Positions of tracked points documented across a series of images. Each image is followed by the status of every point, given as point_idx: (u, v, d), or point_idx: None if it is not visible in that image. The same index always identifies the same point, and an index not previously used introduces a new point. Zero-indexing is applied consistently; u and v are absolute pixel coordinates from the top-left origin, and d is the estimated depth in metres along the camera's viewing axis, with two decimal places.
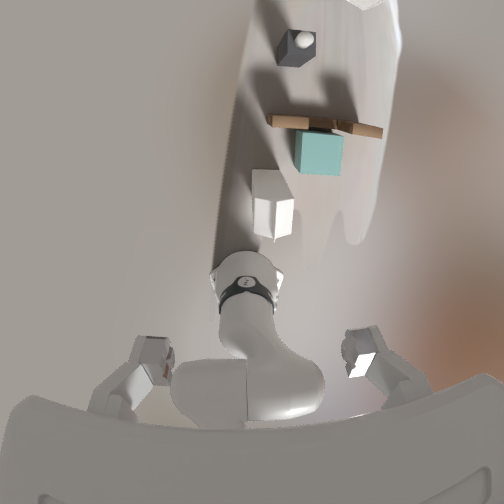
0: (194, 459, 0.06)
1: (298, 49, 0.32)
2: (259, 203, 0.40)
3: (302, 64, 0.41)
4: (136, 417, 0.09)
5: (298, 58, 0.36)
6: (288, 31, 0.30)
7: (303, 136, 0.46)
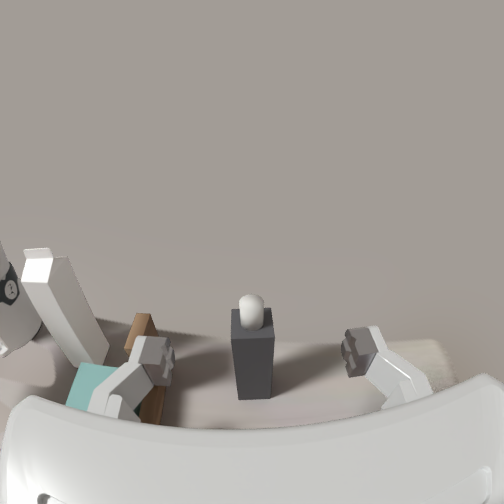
0: (194, 459, 0.06)
1: (239, 320, 0.29)
2: None
3: None
4: (136, 417, 0.09)
5: None
6: None
7: None
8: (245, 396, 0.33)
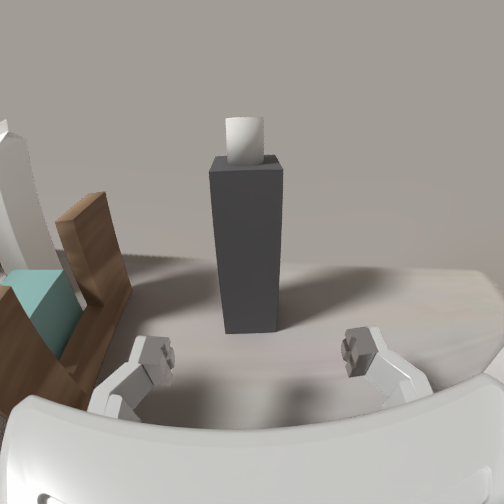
0: (194, 459, 0.06)
1: (225, 161, 0.18)
2: None
3: (221, 296, 0.21)
4: (136, 417, 0.09)
5: None
6: None
7: (56, 271, 0.19)
8: (236, 325, 0.22)
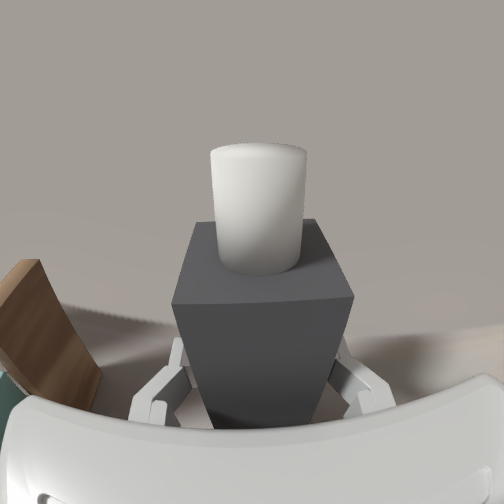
0: (194, 459, 0.06)
1: (215, 245, 0.08)
2: None
3: None
4: (177, 422, 0.09)
5: None
6: None
7: None
8: None
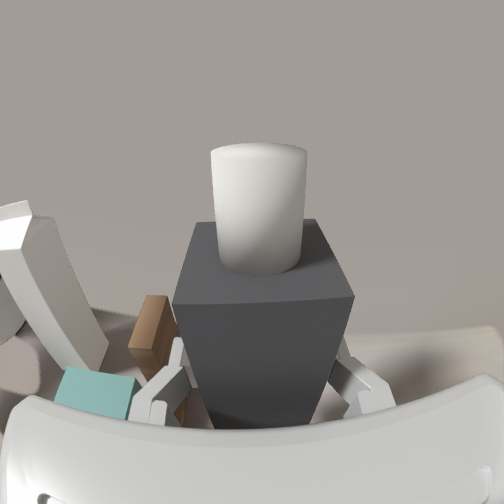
0: (194, 459, 0.06)
1: (215, 245, 0.08)
2: None
3: None
4: (177, 422, 0.09)
5: None
6: None
7: (127, 378, 0.20)
8: None
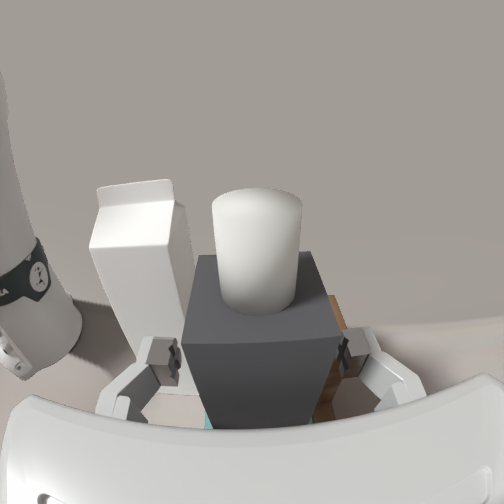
0: (194, 459, 0.06)
1: (217, 282, 0.09)
2: None
3: None
4: (144, 418, 0.09)
5: None
6: None
7: None
8: None
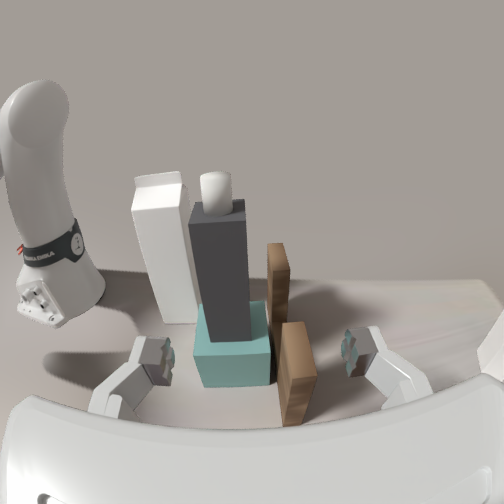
0: (194, 459, 0.06)
1: (202, 209, 0.22)
2: None
3: (204, 314, 0.26)
4: (136, 417, 0.09)
5: None
6: None
7: (258, 302, 0.33)
8: (218, 336, 0.27)
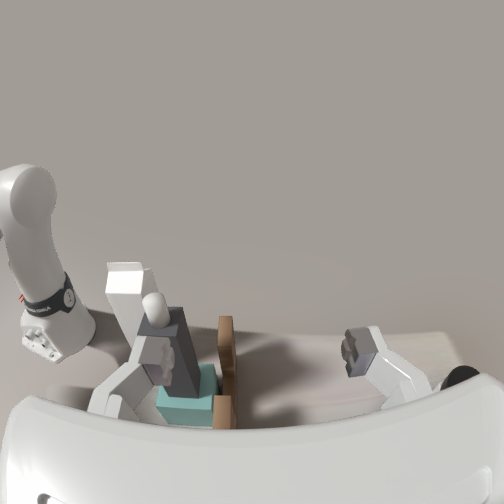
0: (194, 459, 0.06)
1: None
2: (145, 269, 0.39)
3: None
4: (136, 417, 0.09)
5: None
6: None
7: (208, 365, 0.38)
8: (173, 394, 0.33)
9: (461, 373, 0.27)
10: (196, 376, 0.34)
